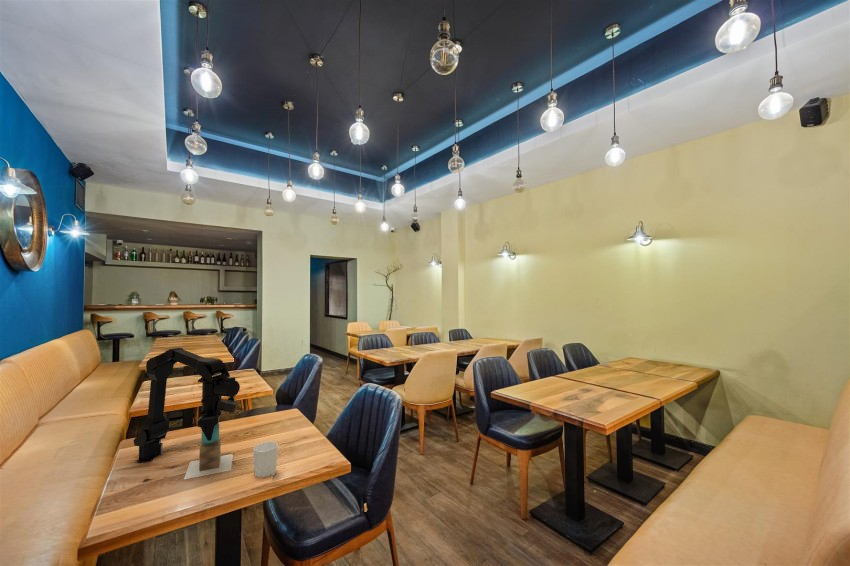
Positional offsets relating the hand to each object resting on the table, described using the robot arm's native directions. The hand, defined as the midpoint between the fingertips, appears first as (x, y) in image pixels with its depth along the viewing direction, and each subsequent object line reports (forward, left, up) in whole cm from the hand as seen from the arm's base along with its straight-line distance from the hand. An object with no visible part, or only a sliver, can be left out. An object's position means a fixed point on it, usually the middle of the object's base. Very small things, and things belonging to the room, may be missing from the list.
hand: (210, 437), depth 127 cm
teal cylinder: (0, 0, -1) cm, 1 cm away
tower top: (0, 0, -6) cm, 6 cm away
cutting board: (0, 0, -11) cm, 11 cm away
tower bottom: (0, 0, -10) cm, 10 cm away
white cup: (+18, -14, -12) cm, 26 cm away
